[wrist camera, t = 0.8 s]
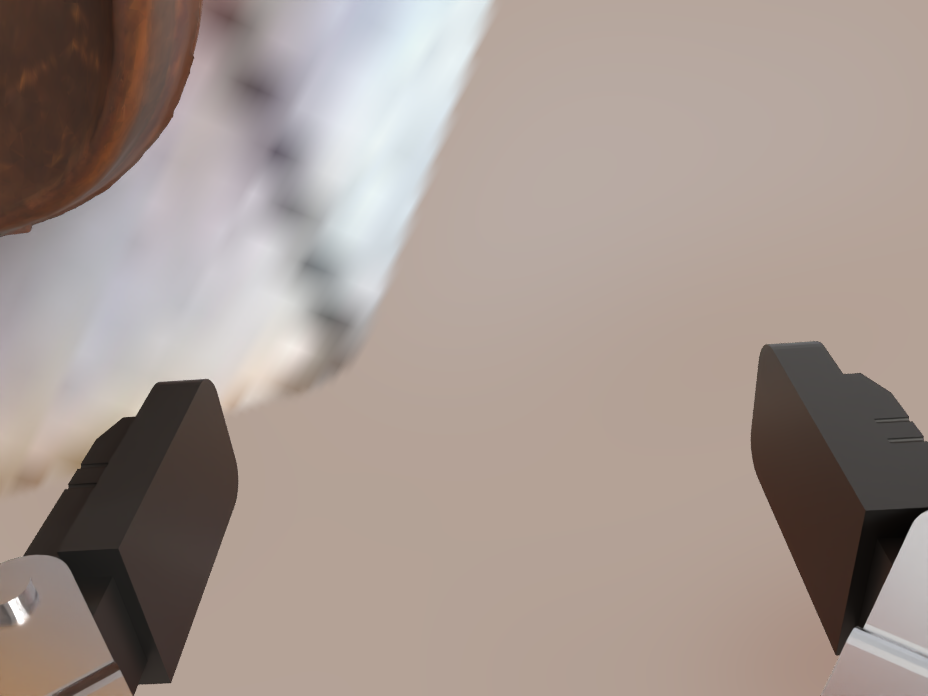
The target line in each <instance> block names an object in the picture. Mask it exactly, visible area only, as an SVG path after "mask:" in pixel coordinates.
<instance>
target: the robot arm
mask: <svg viewBox="0 0 928 696" xmlns="http://www.w3.org/2000/svg"><path fill="white" fill-rule="evenodd" d="M923 437H924V436H923V435H922V433H921V432H920V431H919V430H918V428H917V427H916V426H915V424H914V423H913V422H910V421H909V416H908V415H907V414H906V412H905V411H904V409H903V408H902V407H901V405H900V404H899V403H898V401H897V400H896V399H895V397H894V396H893V395H892V393H891V392H889V391H888V390H886V389H885V388H883V387H881V386H880V385H878V384H877V383H875V382H874V381H872V380H871V379H869V378H867V377H866V376H864V375H863V374H861V373H855V374H843V373H842V372H841V370H840V369H839V367H838V366H837V364H836V363H835V361H834V360H833V358H832V357H831V356H830V354H829V352H828V351H827V350H826V348H825V347H824V345H823V344H822V343H821V342H818V341H813V342H797V343H781V344H767V345H764V346H763V348H762V350H761V352H760V357H759V364H758V373H757V382H756V391H755V402H754V410H753V419H752V429H751V451H752V458H753V463H754V468H755V471H756V474H757V477H758V479H759V481H760V484H761V486H762V488H763V491H764V493H765V495H766V497H767V499H768V502H769V504H770V506H771V509H772V511H773V513H774V516H775V518H776V520H777V523H778V525H779V527H780V529H781V531H782V534H783V536H784V538H785V541H786V543H787V545H788V548H789V550H790V552H791V554H792V557H793V559H794V561H795V564H796V566H797V568H798V570H799V572H800V575H801V577H802V579H803V581H804V584H805V586H806V589H807V591H808V593H809V595H810V598H811V600H812V602H813V605H814V607H815V609H816V611H817V613H818V616H819V618H820V620H821V623H822V625H823V627H824V629H825V632H826V634H827V636H828V639H829V641H830V643H831V646H832V648H833V650H834V652H835V655H840V656H839V658H838V660H837V662H836V664H835V666H834V668H833V671H832V673H831V675H830V677H829V679H828V681H827V683H826V685H825V687H824V689H823V691H822V693H821V695H820V696H928V442H927V441H925V442H924V438H923ZM68 485H69V488H68V489H65V490H64V492H63V493H62V495H61V497H60V498H59V500H58V501H57V503H56V505H55V506H54V508H53V509H52V511H51V512H50V514H49V516H48V517H47V519H46V520H45V522H44V524H43V526H42V527H41V528H40V530H39V532H38V533H37V535H36V536H35V538H34V540H33V541H32V543H31V544H30V546H29V548H28V549H27V551H26V552H25V554H24V556H23V557H18V558H14V559H11V560H8V561H5V562H3V563H0V696H134V694H135V691H136V688H137V686H138V685H139V684H162V683H171V681H172V678H173V676H174V673H175V670H176V667H177V664H178V662H179V659H180V656H181V654H182V651H183V648H184V645H185V642H186V640H187V637H188V634H189V631H190V628H191V626H192V623H193V620H194V617H195V615H196V611H197V609H198V606H199V603H200V601H201V598H202V595H203V592H204V589H205V587H206V584H207V581H208V578H209V576H210V573H211V570H212V567H213V564H214V562H215V559H216V556H217V553H218V550H219V548H220V545H221V542H222V539H223V536H224V534H225V531H226V528H227V525H228V523H229V520H230V517H231V514H232V511H233V509H234V506H235V503H236V499H237V492H238V470H237V463H236V459H235V455H234V452H233V448H232V444H231V441H230V437H229V434H228V430H227V426H226V423H225V419H224V415H223V412H222V408H221V405H220V401H219V397H218V394H217V391H216V388H215V386H214V384H213V383H212V382H211V381H210V380H209V379H199V380H184V381H168V382H158V383H156V384H155V385H154V387H153V388H152V390H151V391H150V393H149V395H148V397H147V398H146V400H145V402H144V403H143V405H142V407H141V409H140V410H139V412H138V414H137V415H136V417H123V418H122V419H121V420H120V421H118V422H117V423H116V424H115V425H113V426H112V427H111V428H110V429H109V430H107V431H106V432H105V433H104V434H102V435H101V436H100V437H99V438H98V439H96V441H95V442H94V444H93V445H92V447H91V449H90V450H89V452H88V453H87V455H86V457H85V458H84V460H83V461H82V463H81V469H77V471H76V473H75V474H74V476H73V477H72V479H71V481H70V482H69V484H68Z"/></svg>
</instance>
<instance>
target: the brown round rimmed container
mask: <svg viewBox="0 0 928 696" xmlns="http://www.w3.org/2000/svg"><path fill="white" fill-rule="evenodd" d="M202 5H203V0H0V237H2V236H5V235H11V234H19V233H27V232H30V231H31V229H32V225H34V224H37V223H40V222H44V221H46V220H48V219H52V218H54V217H57V216H60V215H62V214H64V213H65V212H67V211H70V210H72V209H74V208H76V207H78V206H80V205H82V204H84V203H85V202H87V201H89V200H91V199H92V198H94V197H95V196H97V195H99V194H101V193H103V192H104V191H106V190H107V189H109V188H110V187H111V186H112V185H113V184H114V183H115V182H116V181H117V180H119V179H120V178H121V177H122V176H123V175H124V174H125V173H126V172H127V171H128V170H129V169H131V168H132V167H133V166H134V165H135V164H136V163H137V162H138V161H139V160H140V158H141V157H142V155H143V154H144V153H145V152H146V150H148V149H149V148H150V146H151V145H152V144H153V143H154V142H155V141H156V140H157V139H158V138H159V136H160V134H161V133H162V131H163V130H164V129H165V128H166V126H167V125H168V123H169V122H170V120H171V118H172V117H173V113H174V110H175V108H176V106H177V104H178V103H179V100H180V97H181V94H182V92H183V89H184V86H185V84H186V81H187V78H188V76H189V74H190V67H191V65H192V62H193V59H194V56H193V54H194V50H195V46H196V42H197V38H198V33H199V27H200V20H201V13H202Z"/></svg>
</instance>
